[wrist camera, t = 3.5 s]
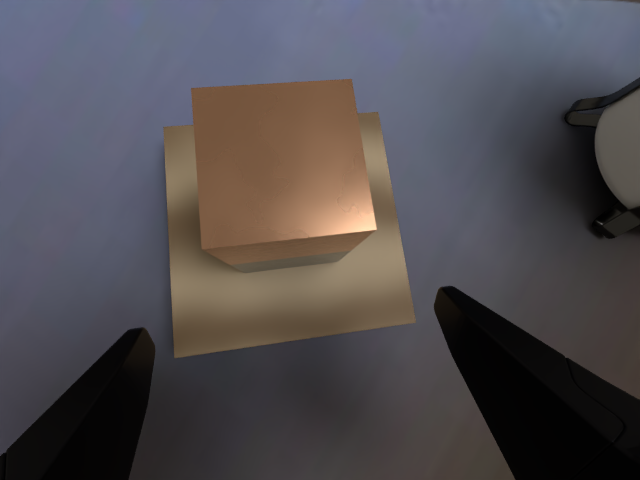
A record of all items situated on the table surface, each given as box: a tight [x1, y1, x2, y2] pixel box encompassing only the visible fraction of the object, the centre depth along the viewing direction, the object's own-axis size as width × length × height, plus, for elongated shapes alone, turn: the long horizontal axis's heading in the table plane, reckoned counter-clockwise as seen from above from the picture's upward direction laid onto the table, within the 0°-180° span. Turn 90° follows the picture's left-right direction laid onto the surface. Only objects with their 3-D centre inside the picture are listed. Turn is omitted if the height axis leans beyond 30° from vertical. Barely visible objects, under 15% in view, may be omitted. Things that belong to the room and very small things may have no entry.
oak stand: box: [164, 112, 416, 358], centre depth 21 cm, size 14×14×3 cm
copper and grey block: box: [191, 79, 377, 273], centre depth 15 cm, size 6×6×9 cm
